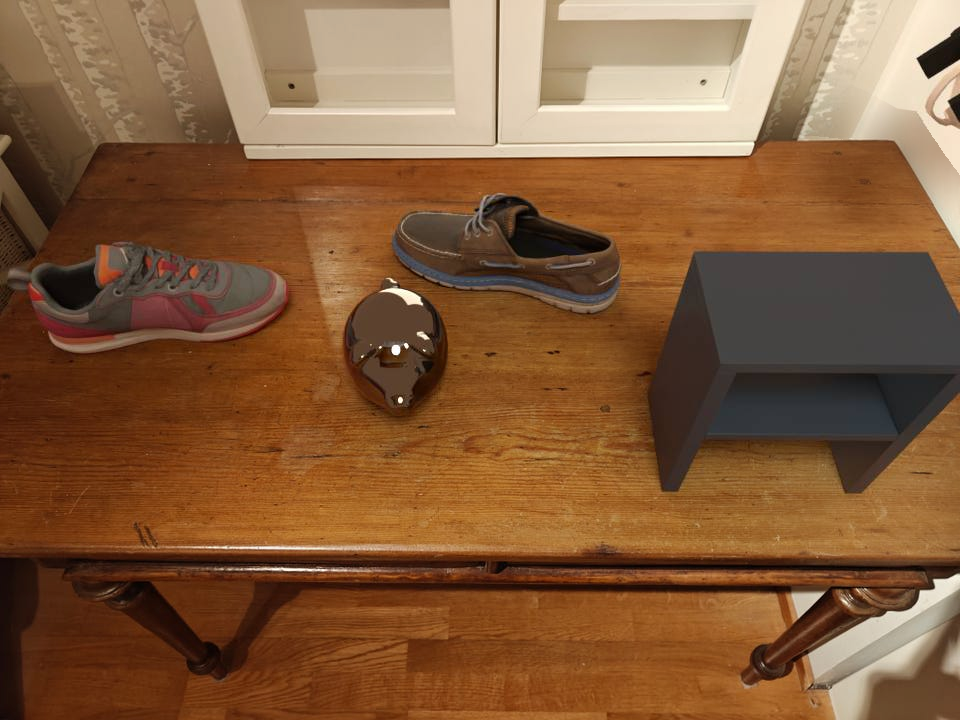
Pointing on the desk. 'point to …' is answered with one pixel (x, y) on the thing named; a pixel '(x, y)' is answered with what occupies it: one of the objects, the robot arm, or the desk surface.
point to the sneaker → (148, 298)
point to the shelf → (805, 356)
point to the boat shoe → (512, 253)
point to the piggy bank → (395, 347)
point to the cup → (949, 115)
